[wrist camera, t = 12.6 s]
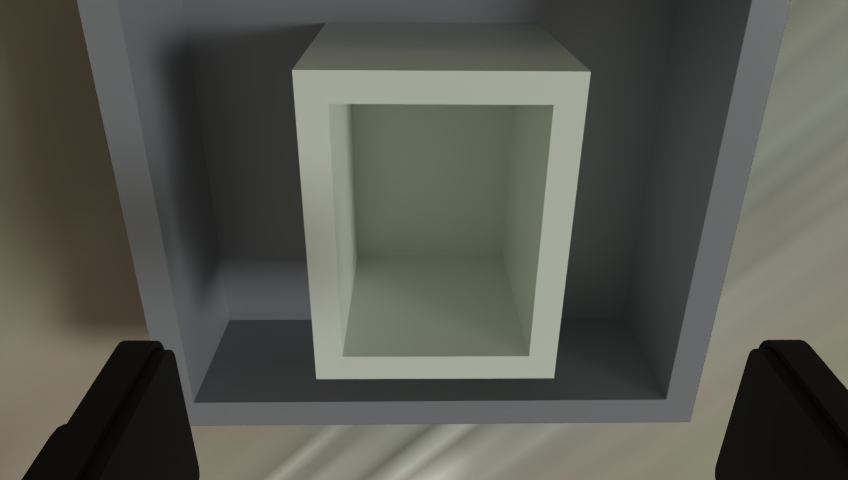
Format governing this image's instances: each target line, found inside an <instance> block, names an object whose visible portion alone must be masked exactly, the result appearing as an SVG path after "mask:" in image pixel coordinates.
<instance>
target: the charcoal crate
mask: <svg viewBox="0 0 848 480" xmlns="http://www.w3.org/2000/svg"><path fill="white" fill-rule="evenodd" d="M790 3H791V0H77V4H78V9H79V13H80V18H81V23H82V27H83V32H84V37H85V41H86V46H87V51H88V55H89V60H90V64H91V69H92V74H93V78H94V83H95V88H96V92H97V97H98V102H99V106H100V111H101V116H102V120H103V125H104V129H105V134H106V139H107V143H108V148H109V153H110V157H111V162H112V167H113V171H114V176H115V181H116V185H117V190H118V194H119V199H120V204H121V208H122V213H123V218H124V222H125V227H126V232H127V236H128V241H129V245H130V250H131V255H132V259H133V264H134V269H135V273H136V278H137V283H138V287H139V292H140V297H141V301H142V306H143V310H144V315H145V320H146V324H147V329H148V334H149V338H150V341H160V342H161V343H162V345H163V347H164V350H172V351H173V352H174V354H175V357H176V362H177V367H178V372H179V376H180V381H181V386H182V390H183V395H184V400H185V405H186V409H187V414H188V419H189V423H190V426H225V425H361V424H497V423H632V422H690V420H691V416H692V412H693V407H694V403H695V399H696V395H697V391H698V387H699V382H700V378H701V374H702V370H703V366H704V362H705V357H706V353H707V349H708V345H709V341H710V337H711V332H712V328H713V324H714V320H715V316H716V312H717V307H718V303H719V299H720V295H721V291H722V287H723V282H724V278H725V274H726V270H727V266H728V262H729V257H730V253H731V249H732V245H733V241H734V237H735V232H736V228H737V224H738V220H739V216H740V212H741V207H742V203H743V199H744V195H745V191H746V187H747V182H748V178H749V174H750V170H751V166H752V161H753V157H754V153H755V149H756V145H757V141H758V136H759V132H760V128H761V124H762V120H763V116H764V111H765V107H766V103H767V99H768V95H769V91H770V86H771V82H772V78H773V74H774V70H775V66H776V61H777V57H778V53H779V49H780V45H781V41H782V36H783V32H784V28H785V24H786V20H787V16H788V11H789V7H790ZM325 23H455V24H540V25H541V26H542V27H543V28H544V29H545V30H547V31H548V32H549V33H550V34H551V35H552V36H553V37H554V38H555V39H556V40H557V41H558V42H560V43H561V44H562V45H563V46H564V47H565V48H566V49H567V50H568V51H569V52H570V53H571V54H572V55H574V56H575V57H576V58H577V59H578V60H579V61H580V62H581V63H582V64H583V65H584V66H585V67H587V68H588V69H589V70H590V71H591V75H590V83H589V92H588V100H587V108H586V117H585V125H584V133H583V141H582V150H581V158H580V166H579V175H578V183H577V191H576V199H575V208H574V216H573V224H572V233H571V241H570V249H569V258H568V266H567V274H566V282H565V291H564V299H563V307H562V316H561V324H560V332H559V341H558V349H557V357H556V365H555V374H554V378H493V379H316V369H315V356H314V343H313V331H312V318H311V305H310V293H309V280H308V267H307V255H306V242H305V229H304V217H303V204H302V191H301V179H300V166H299V153H298V141H297V128H296V115H295V103H294V90H293V77H292V69H293V68H294V66H295V65H296V64H297V62H298V61H299V59H300V58H301V57H302V55H303V54H304V53H305V51H306V50H307V48H308V47H309V46H310V44H311V43H312V41H313V40H314V39H315V37H316V36H317V34H318V33H319V32H320V30H321V29H322V28H323V26H324V25H325Z"/></svg>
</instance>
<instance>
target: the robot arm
mask: <svg viewBox="0 0 848 480" xmlns="http://www.w3.org/2000/svg"><path fill="white" fill-rule="evenodd" d="M715 478H716V480H848V390H847V389H846V388H845V386H844V385H843V384H842V383H841V382H840V381H839V379H838V378H837V377H836V376H835V375H834V374H833V372H832V371H831V370H830V369H829V368H828V366H827V365H826V364H825V363H824V362H823V361H822V359H821V358H820V357H819V356H818V355H817V354H816V352H815V351H814V350H813V349H812V348H811V346H810V345H809V344H807V343H806V342H805V341H802V340H766V341H763V342H762V343H761V344H760V346H759V349H754V350H752V351H751V352H750V354H749V356H748V359H747V362H746V366H745V369H744V373H743V376H742V379H741V383H740V386H739V389H738V393H737V396H736V400H735V403H734V406H733V410H732V413H731V417H730V420H729V423H728V427H727V430H726V433H725V437H724V440H723V444H722V447H721V450H720V454H719V457H718V460H717V464H716V468H715ZM22 480H199V466H198V461H197V456H196V452H195V447H194V442H193V438H192V433H191V428H190V423H189V419H188V414H187V409H186V405H185V400H184V395H183V390H182V386H181V381H180V376H179V372H178V367H177V362H176V357H175V354H174V352H173V351H172V350H164V347H163V345H162V343H161V342H160V341H122V342H120V343H119V344H118V346H117V347H116V348H115V350H114V352H113V353H112V355H111V356H110V358H109V359H108V361H107V362H106V364H105V365H104V367H103V369H102V370H101V372H100V373H99V375H98V376H97V378H96V379H95V381H94V383H93V384H92V386H91V387H90V389H89V390H88V392H87V393H86V395H85V397H84V398H83V400H82V401H81V403H80V404H79V406H78V407H77V409H76V410H75V412H74V414H73V415H72V417H71V418H70V420H69V421H68V423H67V424H64V425H62V426H60V427H58V428H57V429H56V430H55V431H54V433H53V434H52V435H51V436H50V438H49V439H48V441H47V442H46V444H45V445H44V447H43V448H42V450H41V451H40V453H39V454H38V456H37V457H36V459H35V460H34V462H33V463H32V465H31V466H30V468H29V469H28V471H27V472H26V474H25V475H24V477H23V478H22Z"/></svg>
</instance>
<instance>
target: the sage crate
mask: <svg viewBox="0 0 848 480" xmlns="http://www.w3.org/2000/svg"><path fill="white" fill-rule="evenodd" d="M590 75H591V71H590V70H589V69H588V68H587V67H585V66H584V65H583V64H582V63H581V62H580V61H579V60H578V59H577V58H576V57H575V56H574V55H572V54H571V53H570V52H569V51H568V50H567V49H566V48H565V47H564V46H563V45H562V44H561V43H560V42H558V41H557V40H556V39H555V38H554V37H553V36H552V35H551V34H550V33H549V32H548V31H547V30H545V29H544V28H543V27H542V26H541V25H540V24H455V23H325V25H324V26H323V28H322V29H321V30H320V32H319V33H318V34H317V36H316V37H315V39H314V40H313V41H312V43H311V44H310V46H309V47H308V48H307V50H306V51H305V53H304V54H303V55H302V57H301V58H300V59H299V61H298V62H297V64H296V65H295V66H294V68H293V69H292V77H293V90H294V103H295V115H296V128H297V141H298V153H299V166H300V179H301V191H302V204H303V217H304V229H305V242H306V255H307V267H308V280H309V293H310V305H311V318H312V331H313V343H314V356H315V369H316V379H493V378H554V374H555V365H556V357H557V349H558V341H559V332H560V324H561V316H562V307H563V299H564V291H565V282H566V274H567V266H568V258H569V249H570V241H571V233H572V224H573V216H574V208H575V199H576V191H577V183H578V175H579V166H580V158H581V150H582V141H583V133H584V125H585V117H586V108H587V100H588V92H589V83H590Z"/></svg>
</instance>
